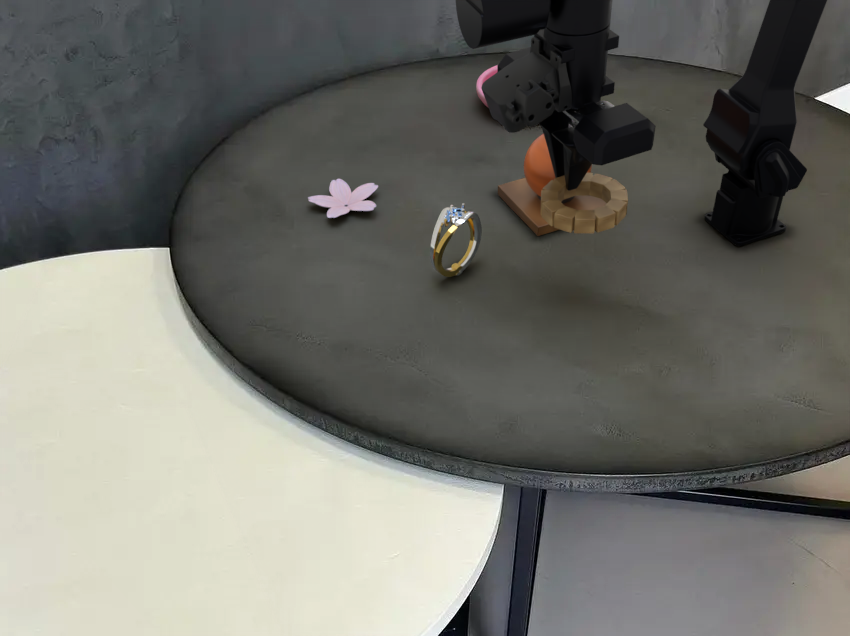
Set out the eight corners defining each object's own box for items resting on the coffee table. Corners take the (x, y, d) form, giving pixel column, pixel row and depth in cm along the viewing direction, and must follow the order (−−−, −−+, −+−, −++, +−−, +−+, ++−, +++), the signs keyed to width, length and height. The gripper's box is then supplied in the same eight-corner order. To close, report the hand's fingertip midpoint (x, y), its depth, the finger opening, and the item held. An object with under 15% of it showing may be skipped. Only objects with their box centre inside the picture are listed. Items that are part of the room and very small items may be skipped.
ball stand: (571, 172, 119) (576, 103, 113) (615, 212, 113) (623, 142, 106) (497, 194, 117) (498, 125, 110) (537, 236, 111) (541, 166, 104)
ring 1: (443, 293, 105) (441, 228, 99) (423, 281, 106) (419, 215, 100) (490, 265, 108) (490, 200, 102) (469, 253, 109) (468, 188, 103)
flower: (360, 239, 112) (359, 227, 111) (288, 219, 116) (286, 208, 115) (402, 196, 118) (402, 184, 117) (332, 179, 121) (330, 167, 120)
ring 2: (596, 178, 99) (598, 164, 98) (642, 218, 94) (644, 203, 93) (525, 201, 98) (525, 187, 96) (568, 242, 93) (569, 228, 91)
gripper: (446, 6, 90) (451, 164, 101) (550, 88, 78) (542, 256, 90) (553, -22, 92) (546, 135, 104) (669, 53, 81) (646, 221, 92)
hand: (566, 184), depth 97 cm, fingers closed on ring 2, 2 cm apart
